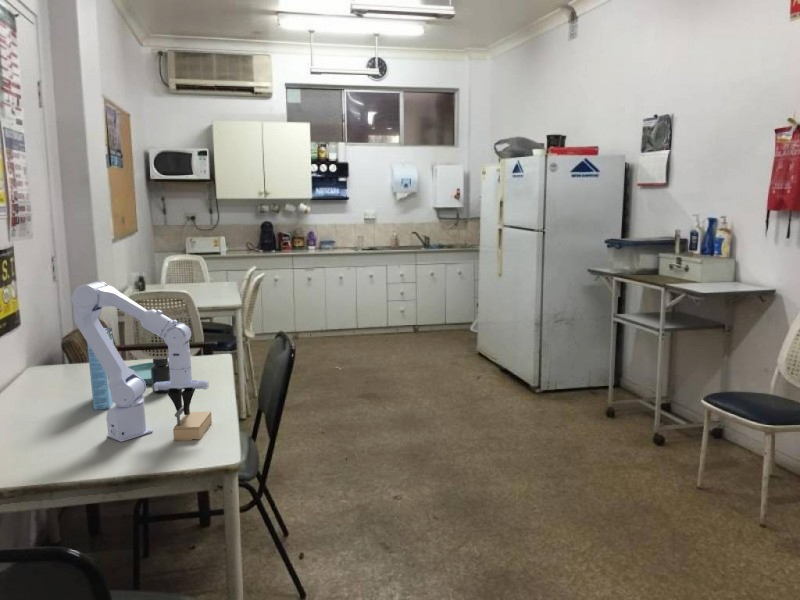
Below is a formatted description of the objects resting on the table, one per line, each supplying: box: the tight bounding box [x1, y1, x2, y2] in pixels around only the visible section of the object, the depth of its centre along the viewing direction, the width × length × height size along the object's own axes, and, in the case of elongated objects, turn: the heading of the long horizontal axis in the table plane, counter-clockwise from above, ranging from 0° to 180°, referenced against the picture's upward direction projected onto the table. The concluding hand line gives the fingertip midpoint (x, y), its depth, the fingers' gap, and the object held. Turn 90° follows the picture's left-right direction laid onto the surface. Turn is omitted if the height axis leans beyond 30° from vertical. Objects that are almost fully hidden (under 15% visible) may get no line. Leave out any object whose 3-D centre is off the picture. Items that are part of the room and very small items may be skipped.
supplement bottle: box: [151, 355, 170, 395], centre depth 210 cm, size 7×7×12 cm
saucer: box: [127, 361, 169, 385], centre depth 229 cm, size 24×24×3 cm
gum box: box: [86, 327, 114, 411], centre depth 200 cm, size 20×5×23 cm, turn 17°
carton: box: [172, 413, 213, 442], centre depth 172 cm, size 7×13×3 cm, turn 3°
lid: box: [173, 401, 212, 429], centre depth 171 cm, size 7×13×4 cm, turn 3°
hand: (183, 413), depth 171 cm, fingers closed on lid
